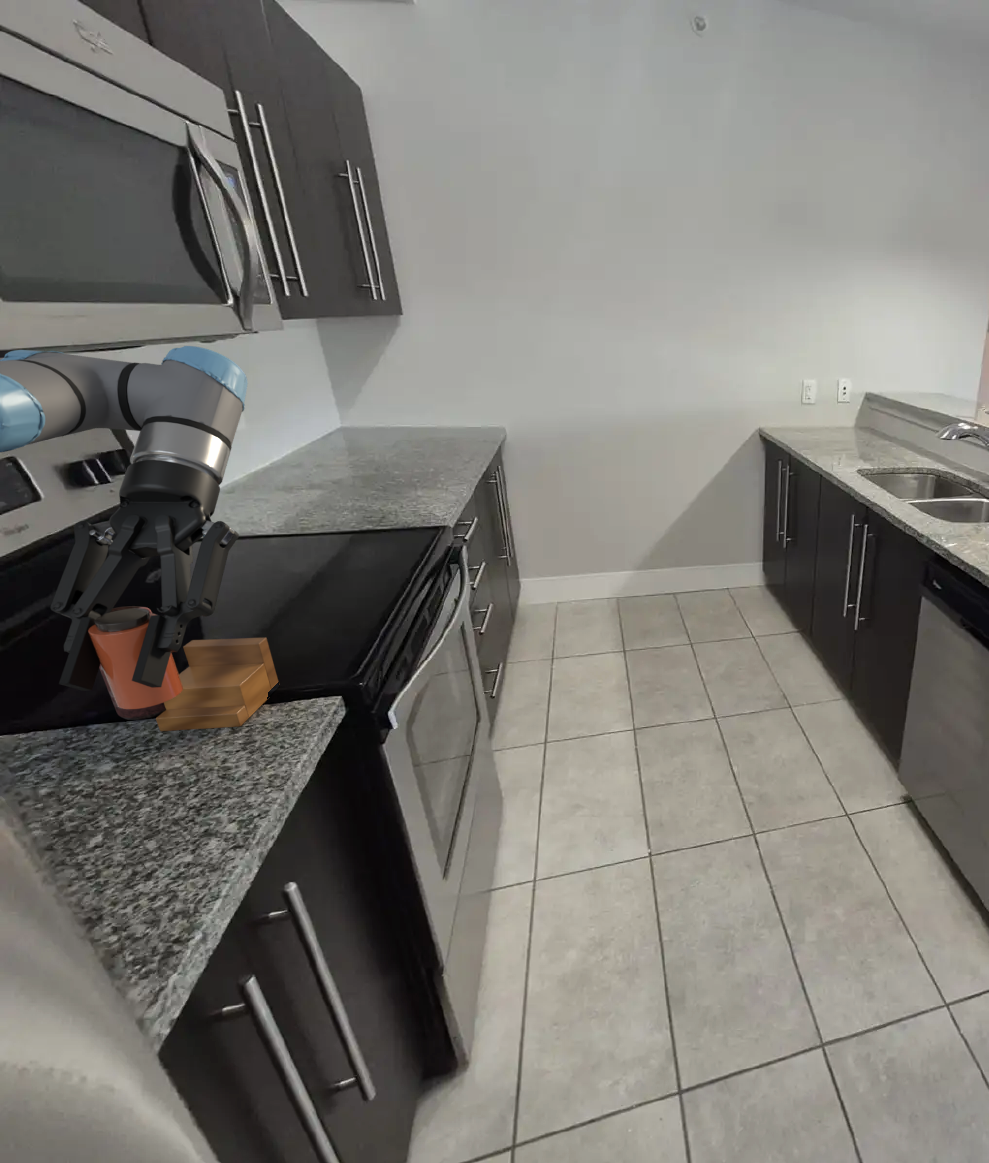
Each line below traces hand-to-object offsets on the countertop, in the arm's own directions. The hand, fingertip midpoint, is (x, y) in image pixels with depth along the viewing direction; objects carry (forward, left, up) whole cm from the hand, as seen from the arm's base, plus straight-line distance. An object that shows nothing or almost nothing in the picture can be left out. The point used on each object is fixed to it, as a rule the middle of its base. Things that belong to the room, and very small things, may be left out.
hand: (111, 685), depth 61 cm
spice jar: (0, +4, -3) cm, 5 cm away
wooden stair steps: (-7, +23, -17) cm, 30 cm away
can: (-16, +24, -17) cm, 34 cm away
